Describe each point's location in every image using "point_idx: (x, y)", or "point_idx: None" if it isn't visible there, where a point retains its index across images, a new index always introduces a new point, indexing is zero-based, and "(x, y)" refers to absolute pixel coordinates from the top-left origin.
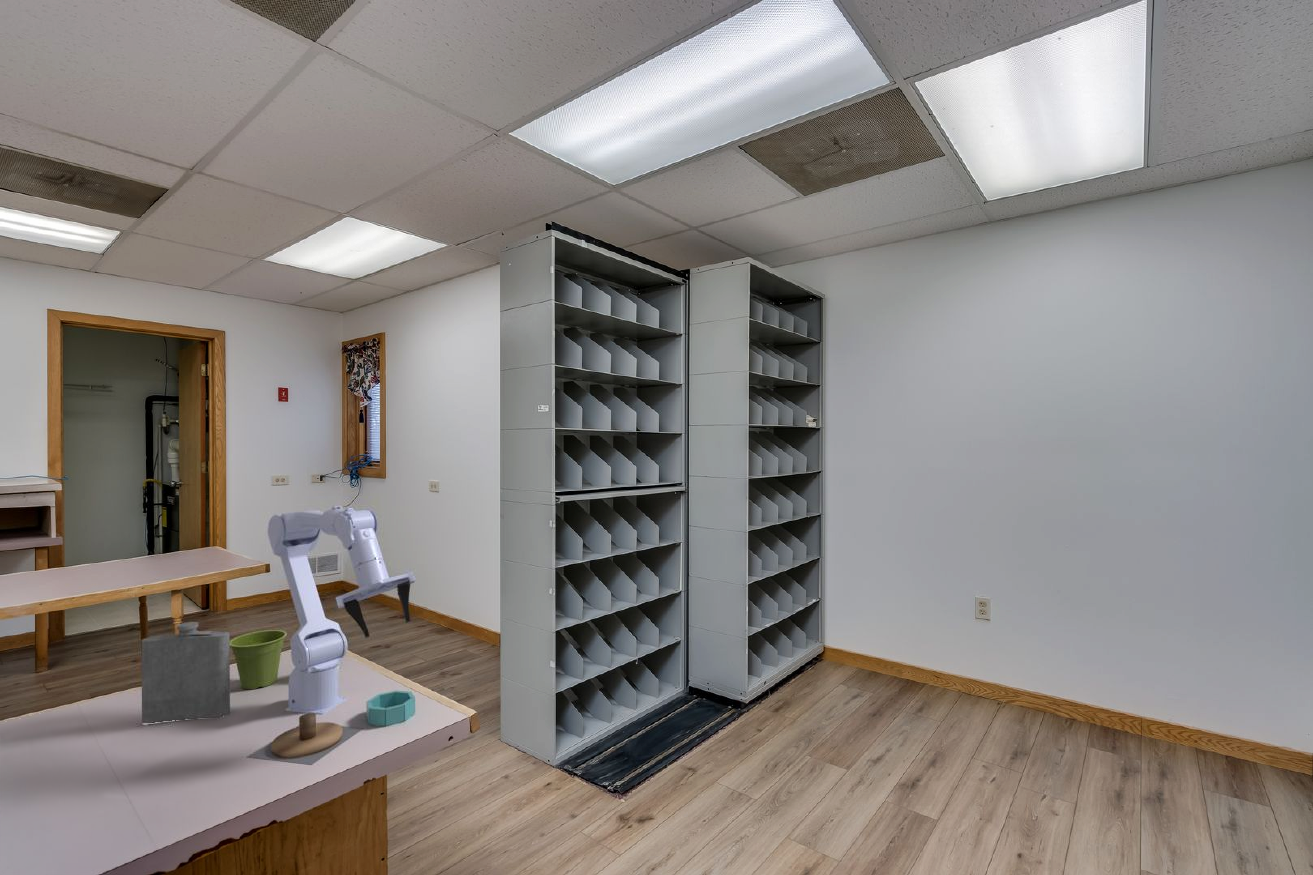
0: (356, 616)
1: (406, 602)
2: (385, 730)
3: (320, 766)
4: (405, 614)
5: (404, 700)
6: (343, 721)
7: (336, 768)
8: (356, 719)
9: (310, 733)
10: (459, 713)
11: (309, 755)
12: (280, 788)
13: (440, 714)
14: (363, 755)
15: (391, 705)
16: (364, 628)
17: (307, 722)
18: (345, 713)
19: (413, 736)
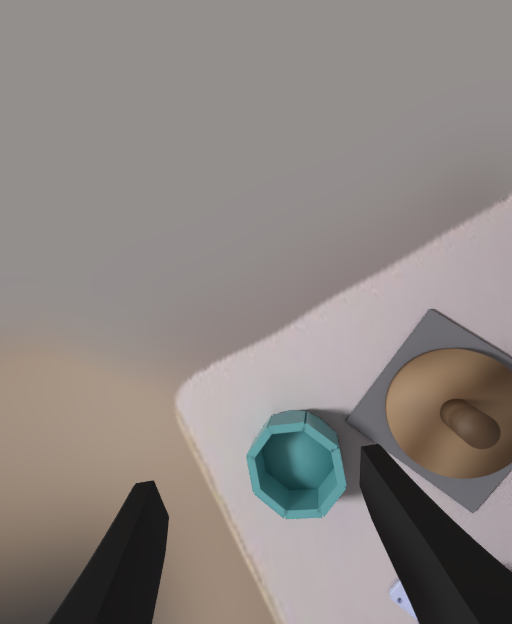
0: (508, 580)
1: (67, 618)
2: (306, 399)
3: (413, 304)
4: (137, 513)
5: (270, 484)
6: None
7: (383, 285)
8: None
9: (454, 403)
10: (181, 409)
11: (440, 348)
12: (475, 249)
13: (212, 421)
14: (340, 315)
15: (296, 492)
16: (399, 476)
17: (473, 410)
18: None
19: (258, 352)
